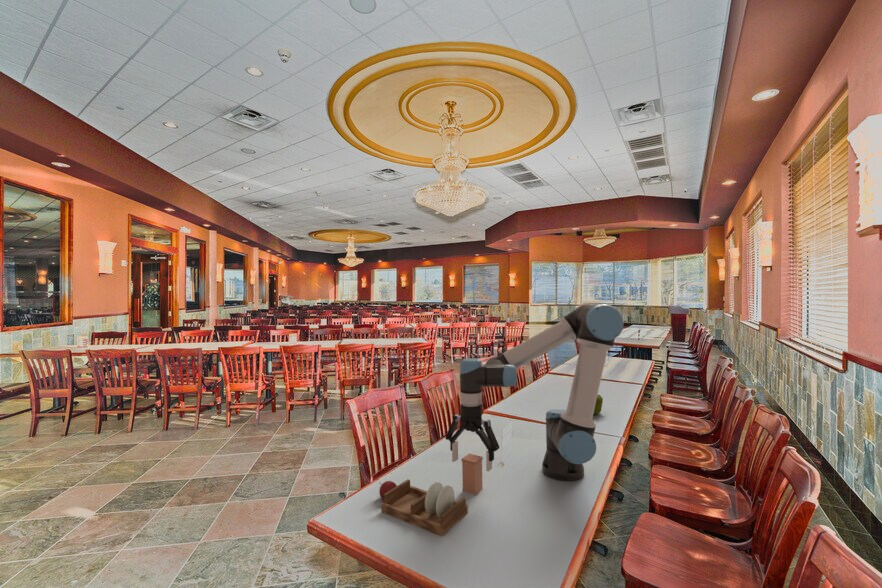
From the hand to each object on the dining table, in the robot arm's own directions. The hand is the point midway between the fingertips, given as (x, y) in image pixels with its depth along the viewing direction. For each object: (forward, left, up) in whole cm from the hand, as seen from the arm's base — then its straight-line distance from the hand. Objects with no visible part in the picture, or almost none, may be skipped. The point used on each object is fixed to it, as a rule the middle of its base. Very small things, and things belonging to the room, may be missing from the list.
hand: (471, 465), depth 134 cm
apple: (-13, -111, -9) cm, 112 cm away
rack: (+5, +20, -8) cm, 23 cm away
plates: (-1, +20, -7) cm, 22 cm away
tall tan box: (0, 0, -8) cm, 8 cm away
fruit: (+22, +20, -9) cm, 31 cm away
